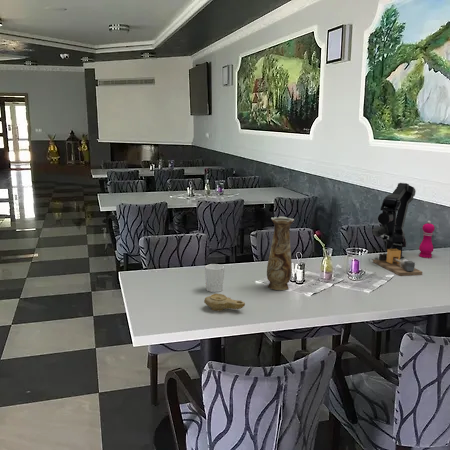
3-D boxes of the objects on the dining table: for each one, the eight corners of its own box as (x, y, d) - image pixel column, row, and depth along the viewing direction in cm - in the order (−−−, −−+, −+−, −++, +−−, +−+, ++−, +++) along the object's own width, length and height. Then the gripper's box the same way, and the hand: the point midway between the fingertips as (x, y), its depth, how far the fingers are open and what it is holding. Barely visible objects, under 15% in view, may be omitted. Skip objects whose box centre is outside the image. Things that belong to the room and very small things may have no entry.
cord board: (373, 262, 250) (374, 250, 249) (393, 261, 253) (394, 249, 251) (399, 276, 227) (400, 263, 226) (422, 274, 230) (423, 262, 228)
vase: (261, 286, 207) (264, 218, 201) (276, 281, 215) (279, 215, 209) (281, 292, 200) (284, 221, 194) (295, 287, 208) (299, 218, 202)
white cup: (214, 285, 207) (215, 262, 205) (227, 290, 202) (228, 267, 200) (201, 289, 202) (201, 266, 200) (213, 294, 196) (214, 270, 194)
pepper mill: (415, 255, 265) (419, 219, 261) (425, 254, 268) (428, 219, 264) (425, 258, 259) (429, 222, 255) (435, 257, 262) (439, 221, 258)
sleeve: (386, 261, 244) (387, 249, 243) (395, 261, 245) (396, 248, 244) (390, 263, 240) (391, 251, 239) (399, 263, 241) (400, 250, 240)
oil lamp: (245, 313, 177) (246, 300, 176) (207, 315, 174) (207, 302, 173) (239, 303, 187) (239, 291, 186) (202, 305, 184) (203, 292, 183)
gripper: (366, 218, 252) (363, 247, 255) (385, 225, 234) (382, 256, 237) (385, 218, 254) (382, 246, 257) (405, 225, 237) (402, 256, 240)
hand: (386, 251), depth 248 cm, fingers closed
